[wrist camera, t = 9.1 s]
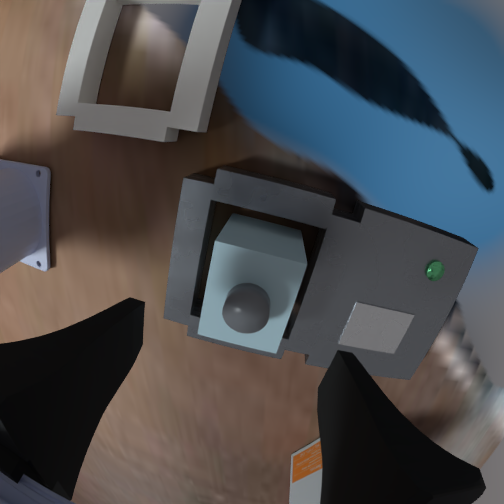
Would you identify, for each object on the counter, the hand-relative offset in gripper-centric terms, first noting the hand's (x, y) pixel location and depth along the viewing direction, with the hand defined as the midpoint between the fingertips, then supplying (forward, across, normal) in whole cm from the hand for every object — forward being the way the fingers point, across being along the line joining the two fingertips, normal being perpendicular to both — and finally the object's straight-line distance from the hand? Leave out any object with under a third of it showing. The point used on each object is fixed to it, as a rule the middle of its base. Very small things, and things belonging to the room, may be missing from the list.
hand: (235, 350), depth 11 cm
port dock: (+8, -4, 0) cm, 9 cm away
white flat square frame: (+8, +9, -11) cm, 16 cm away
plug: (+8, 0, 0) cm, 8 cm away
